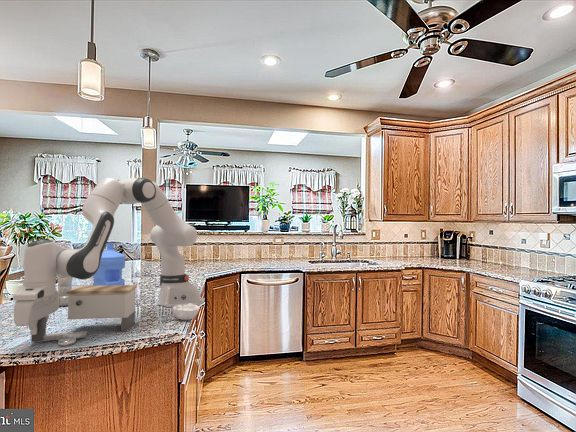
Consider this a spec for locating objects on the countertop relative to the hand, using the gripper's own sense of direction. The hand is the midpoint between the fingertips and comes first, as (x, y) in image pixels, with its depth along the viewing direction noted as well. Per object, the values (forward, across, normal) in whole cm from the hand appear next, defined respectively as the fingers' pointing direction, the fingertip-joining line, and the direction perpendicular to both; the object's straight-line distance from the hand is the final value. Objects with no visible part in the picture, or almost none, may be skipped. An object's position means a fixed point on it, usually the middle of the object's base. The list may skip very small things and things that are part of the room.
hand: (38, 331), depth 114 cm
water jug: (+4, -80, -4) cm, 80 cm away
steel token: (+4, +2, +10) cm, 11 cm away
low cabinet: (+4, -14, +15) cm, 21 cm away
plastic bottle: (+4, -53, -15) cm, 55 cm away
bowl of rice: (+4, -23, +44) cm, 50 cm away
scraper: (+3, -1, +6) cm, 7 cm away
